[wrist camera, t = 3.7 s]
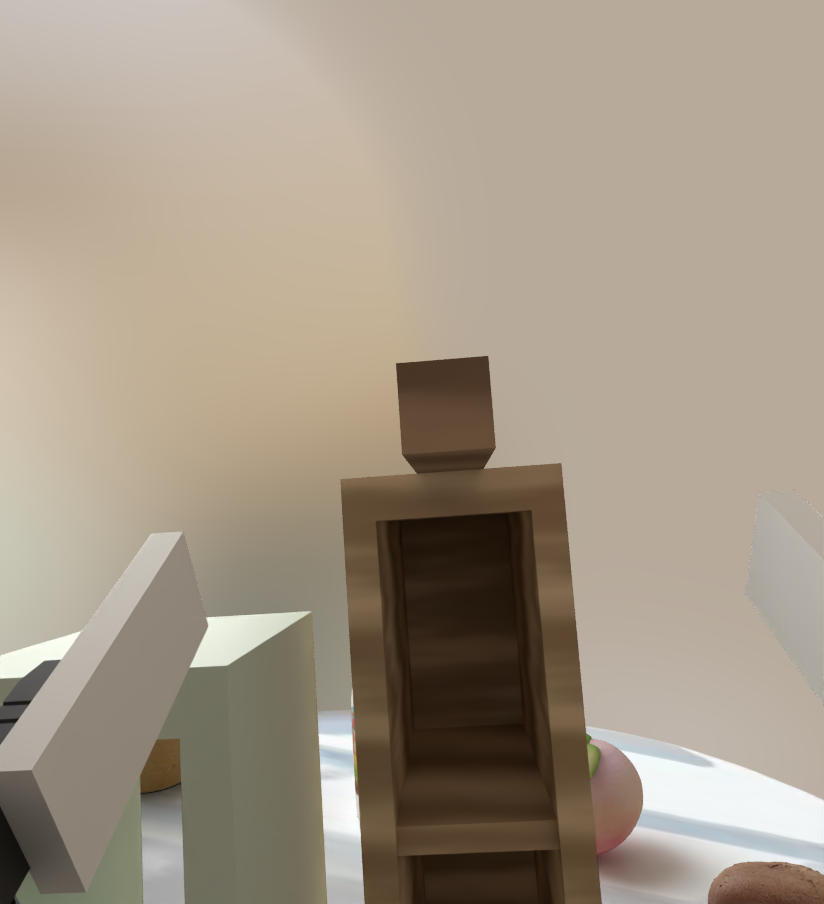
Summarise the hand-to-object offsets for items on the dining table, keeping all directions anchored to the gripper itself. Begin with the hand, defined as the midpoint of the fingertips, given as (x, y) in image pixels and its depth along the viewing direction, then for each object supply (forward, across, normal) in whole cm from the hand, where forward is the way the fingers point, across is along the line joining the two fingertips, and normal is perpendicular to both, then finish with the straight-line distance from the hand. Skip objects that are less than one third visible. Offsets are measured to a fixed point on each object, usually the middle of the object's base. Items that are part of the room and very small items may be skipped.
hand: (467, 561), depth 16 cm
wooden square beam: (+17, 0, -6) cm, 18 cm away
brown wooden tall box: (+6, 0, -35) cm, 35 cm away
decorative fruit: (+24, +9, -45) cm, 52 cm away
